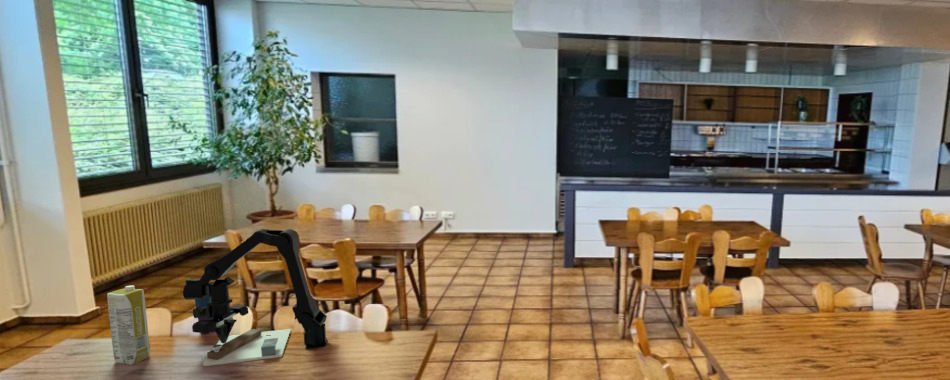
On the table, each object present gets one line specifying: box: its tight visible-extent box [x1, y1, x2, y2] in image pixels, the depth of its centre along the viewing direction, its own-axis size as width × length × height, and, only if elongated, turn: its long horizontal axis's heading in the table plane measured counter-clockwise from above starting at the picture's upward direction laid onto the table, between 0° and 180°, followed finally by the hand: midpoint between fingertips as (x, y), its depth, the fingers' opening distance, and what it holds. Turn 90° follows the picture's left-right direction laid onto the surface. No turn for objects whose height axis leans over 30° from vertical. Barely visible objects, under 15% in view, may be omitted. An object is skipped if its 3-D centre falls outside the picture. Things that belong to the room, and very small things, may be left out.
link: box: [206, 328, 262, 359], centre depth 165 cm, size 20×4×2 cm, turn 163°
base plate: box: [202, 328, 292, 367], centre depth 166 cm, size 23×22×4 cm
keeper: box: [261, 338, 278, 357], centre depth 160 cm, size 4×6×3 cm, turn 13°
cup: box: [194, 295, 215, 335], centre depth 180 cm, size 7×7×15 cm
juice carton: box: [106, 285, 151, 366], centre depth 158 cm, size 9×8×24 cm
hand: (223, 342), depth 166 cm, fingers closed
